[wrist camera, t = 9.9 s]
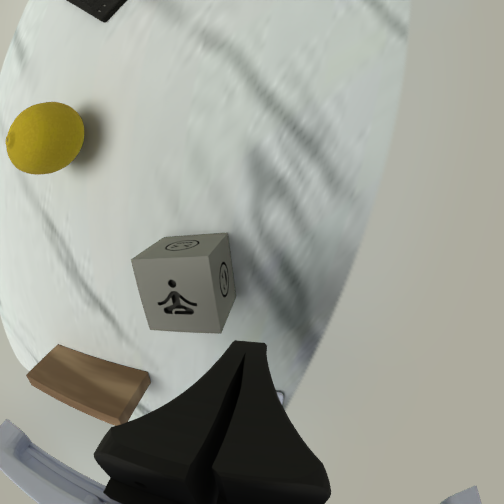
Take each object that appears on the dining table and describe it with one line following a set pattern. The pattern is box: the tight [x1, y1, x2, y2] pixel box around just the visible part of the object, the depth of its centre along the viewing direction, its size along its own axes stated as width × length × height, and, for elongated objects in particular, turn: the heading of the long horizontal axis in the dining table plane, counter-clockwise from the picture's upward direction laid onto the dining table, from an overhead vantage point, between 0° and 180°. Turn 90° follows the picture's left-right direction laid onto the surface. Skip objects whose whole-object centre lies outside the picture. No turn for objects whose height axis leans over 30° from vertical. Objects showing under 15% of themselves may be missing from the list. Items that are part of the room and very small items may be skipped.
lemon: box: [6, 102, 84, 174], centre depth 15 cm, size 6×6×8 cm
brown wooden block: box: [26, 344, 151, 426], centre depth 23 cm, size 2×14×7 cm, turn 88°
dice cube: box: [131, 233, 236, 333], centre depth 18 cm, size 5×5×5 cm
